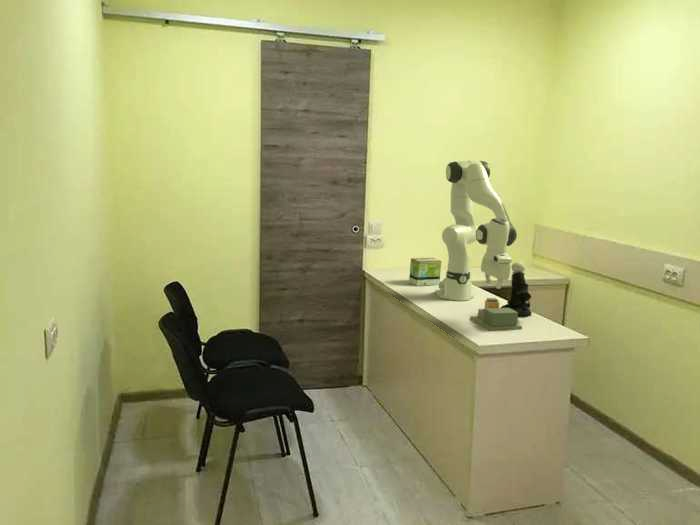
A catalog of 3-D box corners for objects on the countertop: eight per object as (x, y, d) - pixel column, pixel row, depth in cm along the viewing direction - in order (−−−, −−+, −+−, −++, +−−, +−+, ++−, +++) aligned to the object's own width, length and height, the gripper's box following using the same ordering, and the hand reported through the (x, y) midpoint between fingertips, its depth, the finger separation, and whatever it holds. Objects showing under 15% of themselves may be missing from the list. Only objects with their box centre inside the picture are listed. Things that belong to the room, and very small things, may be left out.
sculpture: (526, 309, 289) (530, 259, 284) (540, 323, 266) (546, 268, 261) (495, 308, 289) (499, 258, 285) (507, 321, 266) (511, 267, 261)
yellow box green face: (483, 317, 267) (485, 298, 266) (493, 316, 269) (495, 297, 267) (487, 319, 264) (489, 300, 262) (497, 319, 265) (499, 299, 263)
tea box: (417, 286, 332) (419, 261, 329) (408, 282, 341) (410, 257, 338) (440, 285, 338) (441, 259, 335) (430, 281, 347) (432, 256, 344)
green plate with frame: (470, 318, 268) (471, 303, 267) (501, 317, 272) (503, 302, 271) (488, 330, 251) (489, 314, 250) (522, 328, 255) (523, 312, 254)
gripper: (479, 251, 270) (476, 280, 273) (500, 259, 250) (497, 291, 253) (491, 251, 271) (488, 280, 274) (513, 260, 252) (510, 291, 255)
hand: (493, 285), depth 263 cm, fingers open, 8 cm apart
